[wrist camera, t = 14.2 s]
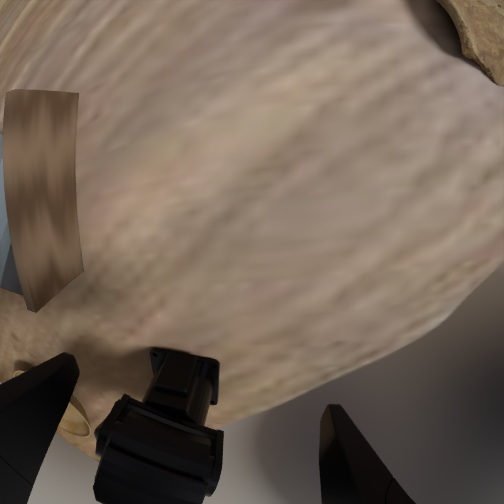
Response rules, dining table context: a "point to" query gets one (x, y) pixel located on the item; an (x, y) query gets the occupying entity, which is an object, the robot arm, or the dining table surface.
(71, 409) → the plant saucer
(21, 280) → the frame
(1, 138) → the grey cube
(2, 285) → the trapdoor
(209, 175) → the dining table surface
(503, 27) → the pottery shard
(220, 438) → the robot arm
